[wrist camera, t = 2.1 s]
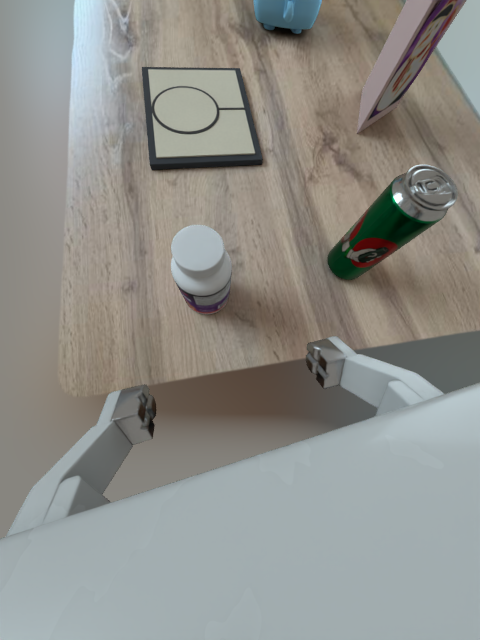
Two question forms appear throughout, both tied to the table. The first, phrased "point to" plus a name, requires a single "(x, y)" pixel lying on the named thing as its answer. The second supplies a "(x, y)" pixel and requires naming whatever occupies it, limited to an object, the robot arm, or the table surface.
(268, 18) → the teapot
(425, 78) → the table surface
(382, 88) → the greeting card
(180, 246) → the pill bottle
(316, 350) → the robot arm
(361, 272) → the soda can
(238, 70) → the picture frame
